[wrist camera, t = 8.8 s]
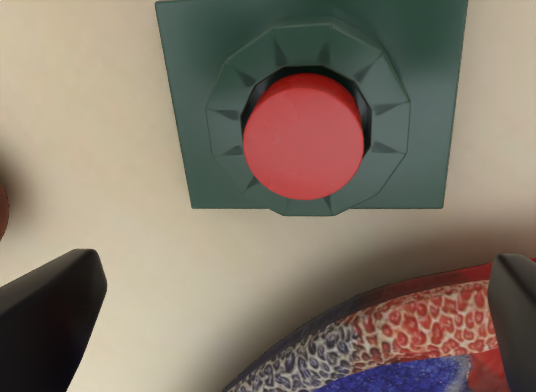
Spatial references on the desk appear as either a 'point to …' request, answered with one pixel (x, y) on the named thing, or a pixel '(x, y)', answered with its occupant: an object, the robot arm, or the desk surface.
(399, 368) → the dish
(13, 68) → the desk surface
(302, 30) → the button block
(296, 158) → the button
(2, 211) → the fruit
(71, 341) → the robot arm
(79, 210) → the desk surface
